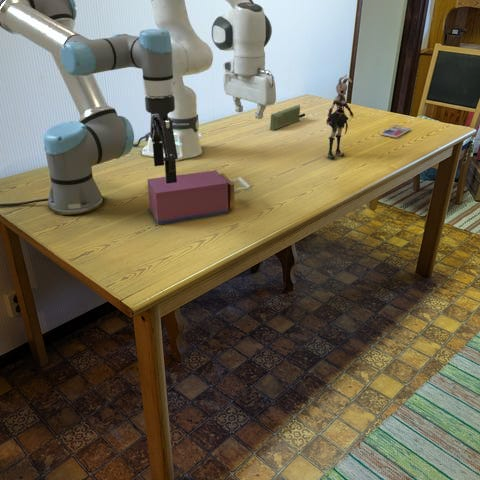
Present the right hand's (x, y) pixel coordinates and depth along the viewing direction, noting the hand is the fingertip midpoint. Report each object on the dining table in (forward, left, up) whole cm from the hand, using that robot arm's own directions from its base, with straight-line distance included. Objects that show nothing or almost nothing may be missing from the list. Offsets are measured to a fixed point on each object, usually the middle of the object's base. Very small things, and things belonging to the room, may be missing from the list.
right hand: (248, 115), depth 150 cm
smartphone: (+51, +72, -24) cm, 92 cm away
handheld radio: (+5, +75, -24) cm, 79 cm away
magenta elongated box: (-14, -19, -24) cm, 34 cm away
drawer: (-9, -16, -23) cm, 29 cm away
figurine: (+26, +37, -24) cm, 51 cm away
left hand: (-19, -23, -11) cm, 32 cm away
